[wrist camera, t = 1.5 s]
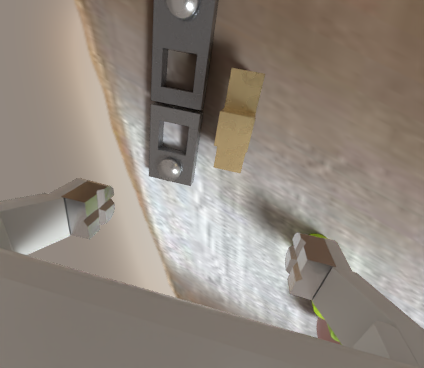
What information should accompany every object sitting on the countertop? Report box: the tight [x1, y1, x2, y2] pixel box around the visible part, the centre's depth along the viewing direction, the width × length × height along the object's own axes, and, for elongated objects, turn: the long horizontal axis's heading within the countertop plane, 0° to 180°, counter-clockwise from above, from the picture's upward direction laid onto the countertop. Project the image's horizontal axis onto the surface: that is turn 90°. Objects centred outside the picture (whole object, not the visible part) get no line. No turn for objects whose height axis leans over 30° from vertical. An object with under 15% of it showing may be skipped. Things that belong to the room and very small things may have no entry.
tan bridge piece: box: [214, 68, 265, 173], centre depth 29 cm, size 13×4×10 cm, turn 171°
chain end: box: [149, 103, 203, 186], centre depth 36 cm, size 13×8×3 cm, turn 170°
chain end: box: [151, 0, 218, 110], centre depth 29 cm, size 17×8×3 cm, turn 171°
